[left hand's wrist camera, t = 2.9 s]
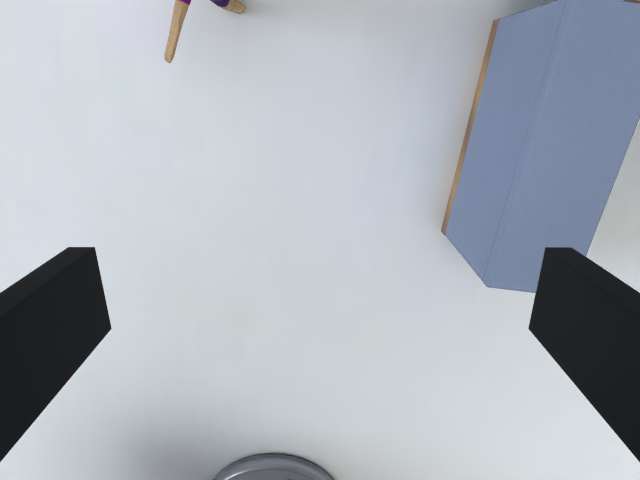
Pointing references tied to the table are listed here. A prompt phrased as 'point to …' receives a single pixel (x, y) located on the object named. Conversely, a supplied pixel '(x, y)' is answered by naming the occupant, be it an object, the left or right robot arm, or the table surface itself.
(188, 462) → the table surface
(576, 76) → the blue-grey rectangular block
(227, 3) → the toy
